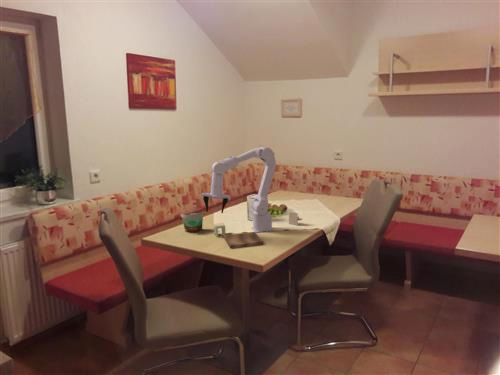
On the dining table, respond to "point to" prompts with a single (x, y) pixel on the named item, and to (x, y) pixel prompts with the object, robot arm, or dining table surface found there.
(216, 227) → the pale slotted block
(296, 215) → the architectural model
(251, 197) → the syrup box
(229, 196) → the robot arm
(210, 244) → the dining table surface
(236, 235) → the serving board
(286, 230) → the dining table surface
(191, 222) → the food container
